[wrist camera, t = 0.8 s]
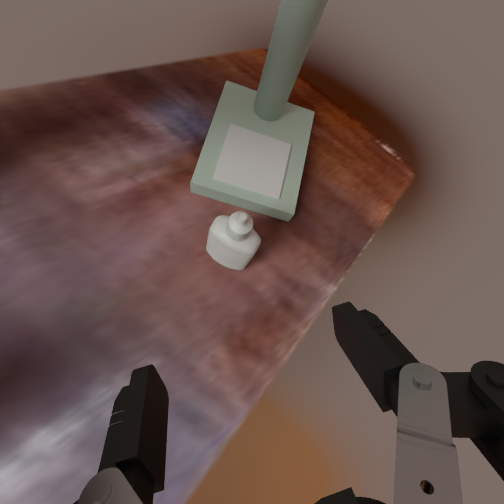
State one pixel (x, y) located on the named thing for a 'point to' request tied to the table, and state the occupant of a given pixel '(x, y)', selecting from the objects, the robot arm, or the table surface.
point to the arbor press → (263, 126)
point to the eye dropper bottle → (233, 240)
